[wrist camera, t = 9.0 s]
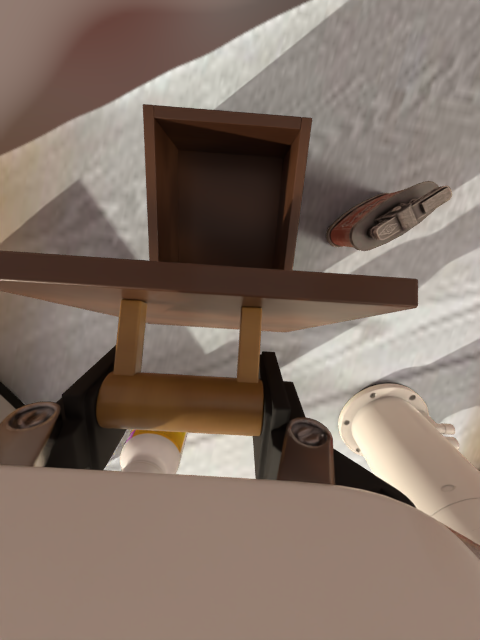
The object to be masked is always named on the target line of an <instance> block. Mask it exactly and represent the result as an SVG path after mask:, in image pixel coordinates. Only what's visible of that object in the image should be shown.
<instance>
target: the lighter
mask: <svg viewBox="0 0 480 640" xmlns="http://www.w3.org/2000/svg"><path fill="white" fill-rule="evenodd" d="M451 197H452V191H451V189H450V187H449V186H442V187H438V185H437V184H436V183H434V182H431V181H426V182H422V183H419V184H416V185H414V186H412V187H409V188H407V189H404V190H401V191H398V192H394V193H383V194H379V195H377V196H374V197H372V198H370V199H367V200H365V201H364V202H362V203H360V204H358V205H356V206H355V207H353V208H351V209H350V210H349V211H347V212H346V213H345V214H344V215H342V216H341V217H340V218H339V219H338V220H336V221H335V222H334V223H333V224H332V225H331V226H330V227H329V228H328V230H327V233H326V238H327V241H328V242H329V244H330V245H332V246H335V247H343V246H347V247H354V248H355V249H357V250H361V251H368V250H371V249H373V248H376V247H378V246H381V245H383V244H386V243H388V242H390V241H392V240H393V239H395V238H397V237H399V236H401V235H403V234H404V233H406V232H407V231H409V230H410V229H411V228H413V227H414V226H416V225H417V224H419V223H420V222H421V221H422V220H423V219H425V218H426V217H427V216H428V215H429V214H430V213H432V212H433V211H434V210H435V209H436V208H437V207H439V206H440V205H442V204H444V203H445V202H447V201H448V200H450V198H451Z"/></svg>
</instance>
